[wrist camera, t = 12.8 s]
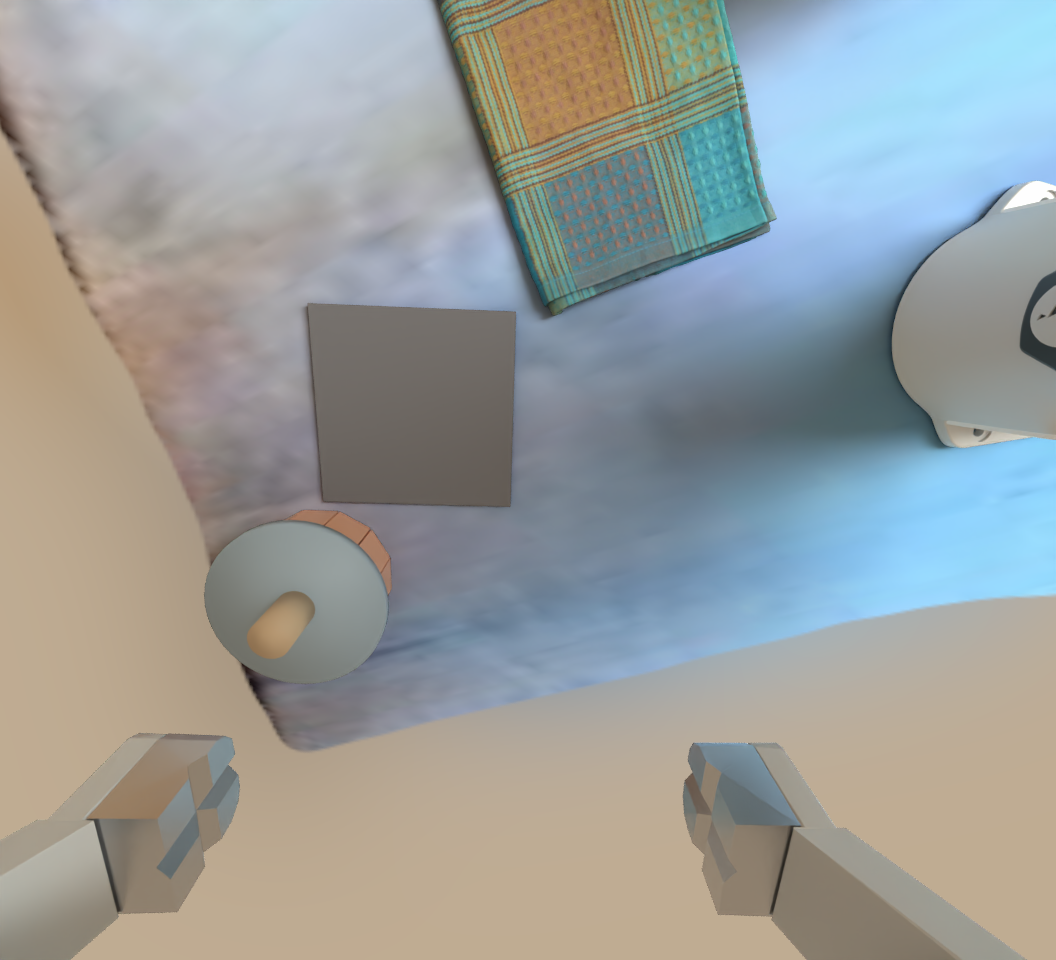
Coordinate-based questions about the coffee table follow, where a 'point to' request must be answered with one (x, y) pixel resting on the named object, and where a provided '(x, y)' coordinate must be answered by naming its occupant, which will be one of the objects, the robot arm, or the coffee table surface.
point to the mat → (414, 404)
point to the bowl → (352, 537)
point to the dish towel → (612, 134)
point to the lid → (296, 601)
